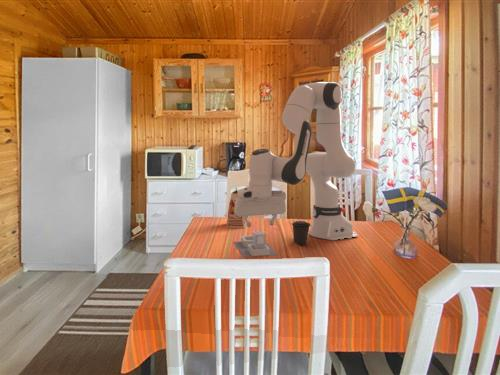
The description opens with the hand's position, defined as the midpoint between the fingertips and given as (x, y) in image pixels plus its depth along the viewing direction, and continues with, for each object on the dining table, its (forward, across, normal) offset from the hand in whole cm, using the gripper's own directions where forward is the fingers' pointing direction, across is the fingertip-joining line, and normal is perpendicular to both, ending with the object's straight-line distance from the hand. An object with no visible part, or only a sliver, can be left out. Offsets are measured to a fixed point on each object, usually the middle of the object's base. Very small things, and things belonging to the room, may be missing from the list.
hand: (260, 225), depth 158 cm
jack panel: (+12, +1, -6) cm, 13 cm away
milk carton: (+13, 0, -46) cm, 48 cm away
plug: (+11, +1, 0) cm, 11 cm away
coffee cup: (+13, -21, -10) cm, 27 cm away
